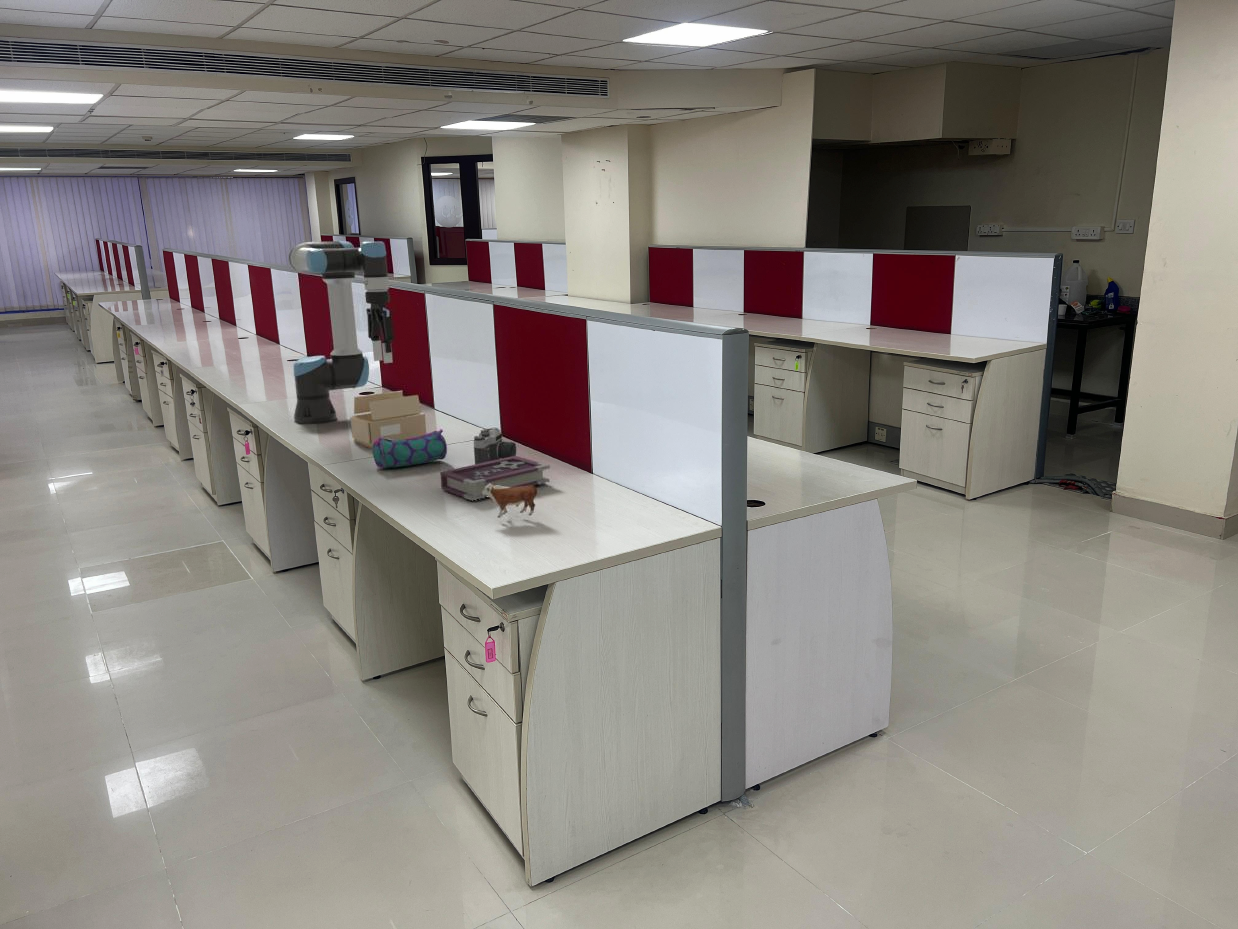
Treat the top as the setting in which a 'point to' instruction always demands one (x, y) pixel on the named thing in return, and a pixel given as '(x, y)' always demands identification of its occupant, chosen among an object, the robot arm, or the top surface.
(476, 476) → the book
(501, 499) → the bull figurine
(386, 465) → the pencil case
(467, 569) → the top surface
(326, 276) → the robot arm
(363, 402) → the flap
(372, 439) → the carton
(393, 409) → the flap
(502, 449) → the camera
